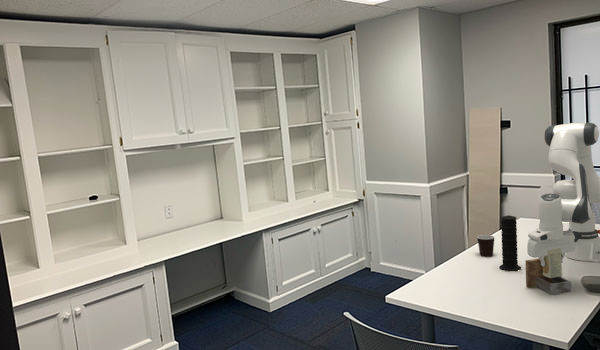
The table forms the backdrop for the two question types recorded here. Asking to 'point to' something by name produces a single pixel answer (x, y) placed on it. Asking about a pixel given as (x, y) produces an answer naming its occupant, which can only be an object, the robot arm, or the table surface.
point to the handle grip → (509, 244)
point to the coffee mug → (486, 245)
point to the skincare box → (553, 264)
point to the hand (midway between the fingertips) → (551, 264)
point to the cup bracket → (544, 279)
